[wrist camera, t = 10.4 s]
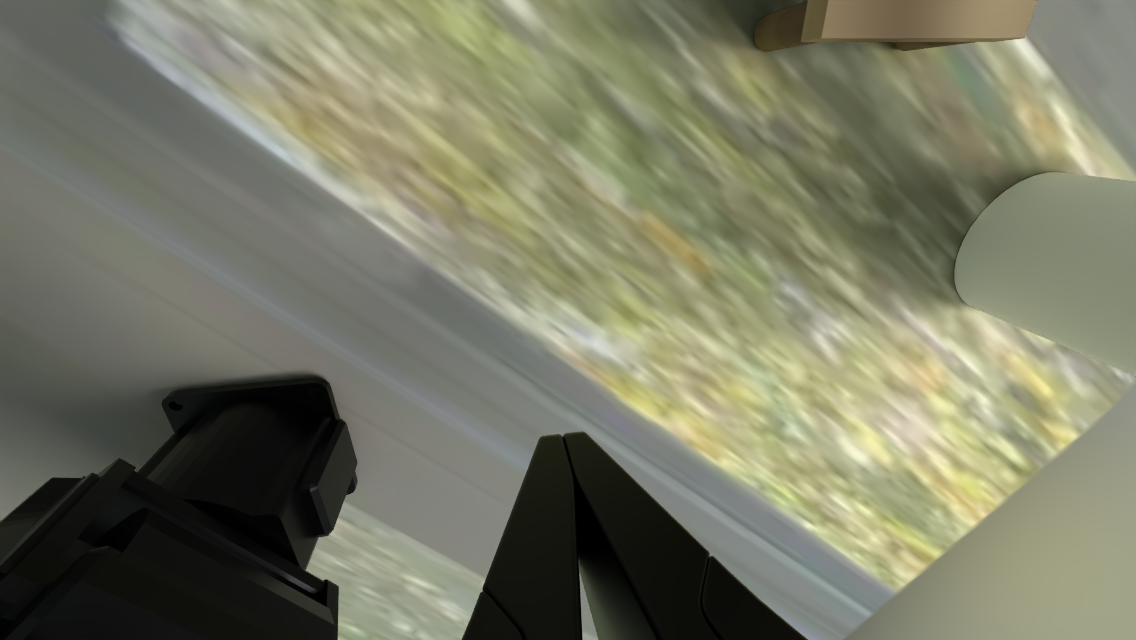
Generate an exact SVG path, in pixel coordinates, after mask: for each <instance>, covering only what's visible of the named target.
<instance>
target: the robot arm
mask: <svg viewBox="0 0 1136 640" xmlns="http://www.w3.org/2000/svg"><path fill="white" fill-rule="evenodd" d="M313 388H318V389H320V390H321V391H322V392H316V391H314V390H313ZM175 401H178V402H180V403H181V404H182V405H179V404H177V403H176V402H175ZM162 407H163V409H164V411H165V413H166V415H167V417H168V420H169V422H170V424H171V426H172V428H173V430H174V432H175V433H174V434H173V435H172V436H171V437H170V438H169V440H168V441H167V442H166V443H165V444H164V445H163V446H162V447H161V448H160V449H159V450H158V451H157V452H156V453H155V454H154V455H153V456H152V457H151V458H150V459H149V461H148V462H147V463H146V464H145V465H144V466H143V467H142V468H141V469H140V470H139V471H138V472H135V471H134V470H135V468H136V467H134V466H132V465H131V464H129V463H127V462H126V461H124V460H122V459H120V458H118V459H117V460H116V461H114V462H113V463H112V464H111V465H109V466H108V467H107V468H105V469H104V470H103V471H101V472H100V473H99V474H98V475H97V474H95V473H91V474H90V475H88V476H87V477H85V476H83V477H82V478H51V479H50V480H49V481H47V482H46V483H45V484H44V485H42V486H41V487H40V488H39V489H37V490H36V491H35V492H34V493H33V494H32V495H30V496H29V497H28V498H27V499H26V500H25V501H23V502H22V503H21V504H20V505H19V506H18V507H16V508H15V509H14V510H13V511H12V512H11V513H9V514H8V515H7V516H6V517H5V518H4V519H2V520H1V521H0V640H337V639H338V595H339V587H338V586H337V585H336V584H334V583H332V582H331V581H329V580H327V579H326V580H324V581H323V580H321V579H319V578H318V577H316V576H314V575H312V574H311V573H309V572H307V571H306V568H307V566H308V563H309V561H310V558H311V556H312V553H313V551H314V548H315V545H316V543H317V540H318V538H319V537H324V536H328V535H329V534H330V533H331V532H332V530H333V529H334V526H335V524H336V521H337V518H338V515H339V513H340V510H341V507H342V504H343V502H344V499H345V496H346V495H348V494H351V493H353V492H354V490H355V488H356V486H357V477H356V473H355V469H356V466H357V459H356V456H355V452H354V449H353V445H352V441H351V438H350V434H349V431H348V427H347V424H346V422H345V421H343V420H342V419H340V417H339V414H338V410H337V407H336V403H335V400H334V396H333V393H332V389H331V386H330V384H329V383H328V382H327V381H326V380H324V379H322V378H309V379H298V380H287V381H276V382H265V383H254V384H243V385H232V386H221V387H211V388H200V389H189V390H178V391H173V392H171V393H170V394H169V395H168V396H167V397H166V398H165V399H163V401H162ZM579 570H580V574H581V577H582V581H583V585H584V588H585V592H586V596H587V599H588V603H589V607H590V610H591V614H592V617H593V621H594V625H595V628H596V632H597V636H598V639H599V640H808V639H807V638H805V637H804V636H803V635H802V634H800V633H799V632H798V631H797V630H795V629H794V628H793V627H792V626H791V625H790V624H788V623H787V622H786V621H785V620H784V619H782V618H781V617H780V616H779V615H778V614H776V613H775V612H774V611H773V610H772V609H770V608H769V607H768V606H767V605H766V604H765V603H763V602H762V601H761V600H760V599H759V598H758V597H757V596H755V595H754V594H753V593H752V592H751V591H750V590H749V589H748V588H747V587H746V586H745V585H743V584H742V583H741V582H740V581H739V580H738V579H737V578H736V577H735V576H734V575H733V574H732V573H730V572H729V571H728V570H727V569H726V568H725V567H724V566H723V565H722V564H721V563H720V562H719V561H718V560H717V559H716V558H715V557H714V556H710V553H709V551H708V550H706V549H705V548H704V547H703V546H702V545H701V544H700V543H699V542H698V541H697V540H696V539H695V538H694V537H693V536H692V535H691V534H690V533H689V532H688V531H687V530H686V529H685V528H684V527H683V526H682V525H681V524H680V523H679V522H678V521H677V520H675V519H674V518H673V517H672V516H671V515H670V514H669V513H668V512H667V511H666V510H665V509H664V508H663V507H662V506H661V505H660V504H659V503H658V502H657V501H656V500H655V499H654V498H653V497H652V496H651V495H650V494H649V493H648V492H647V491H646V490H644V489H643V488H642V487H641V486H640V485H639V484H638V483H637V482H636V481H635V480H634V479H633V478H632V477H631V476H630V475H629V474H628V473H627V472H626V471H625V470H624V469H623V468H622V467H621V466H620V465H619V464H618V463H617V462H616V461H615V460H613V459H612V458H611V457H610V456H609V455H608V454H607V453H606V452H605V451H604V450H603V449H602V448H601V447H600V446H599V445H598V444H597V443H596V442H595V441H594V440H593V439H592V438H591V437H590V436H589V435H588V434H587V433H585V432H573V433H566V434H564V435H563V437H562V436H561V435H560V434H555V435H546V436H542V437H540V439H539V441H538V443H537V446H536V449H535V451H534V454H533V456H532V459H531V462H530V464H529V467H528V470H527V472H526V475H525V477H524V480H523V483H522V485H521V488H520V491H519V493H518V496H517V499H516V501H515V504H514V506H513V509H512V512H511V514H510V517H509V520H508V522H507V525H506V527H505V530H504V533H503V535H502V538H501V541H500V543H499V546H498V549H497V551H496V554H495V556H494V559H493V562H492V564H491V567H490V570H489V572H488V575H487V577H486V580H485V583H484V585H483V592H481V593H480V595H479V598H478V600H477V603H476V606H475V608H474V611H473V614H472V616H471V619H470V621H469V623H468V626H467V628H466V631H465V633H464V635H463V638H462V640H582V621H581V600H580V579H579Z"/></svg>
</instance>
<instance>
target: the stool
mask: <svg viewBox="0 0 1136 640" xmlns="http://www.w3.org/2000/svg"><path fill="white" fill-rule="evenodd" d="M1037 1H1038V0H808V2H804V3H801V4H798V5H795V6H792V7H788V8H785V9H782V10H779V11H776V12H773V13H769V14H767V15H765V16H763V17H762V18H761V19H760V20H759V22H758V23H757V25H756V27H755V31H754V40H755V43H756V45H757V47H758V48H759V49H760V50H762V51H773V50H778V49H784V48H789V47H795V46H800V45H806V44H811V43H817V42H895V44H896V46H897V48H898V49H900V50H902V51H908V50H916V49H924V48H932V47H940V46H948V45H957V44H965V43H973V42H996V41H1004V40H1013V39H1021V38H1025V35H1026V32H1027V29H1028V26H1029V23H1030V21H1031V18H1032V15H1033V12H1034V9H1035V7H1036V4H1037Z"/></svg>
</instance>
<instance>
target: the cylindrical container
mask: <svg viewBox="0 0 1136 640" xmlns="http://www.w3.org/2000/svg"><path fill="white" fill-rule="evenodd" d="M954 281H955V285H956V289H957V292H958V294H959V296H960V297H961V299H962V300H963V301H964V302H965V303H966V304H967V305H969V306H971V307H973V308H975V309H977V310H980V311H982V312H984V313H987V314H989V315H991V316H994V317H996V318H998V319H1001V320H1003V321H1006V322H1008V323H1010V324H1013V325H1015V326H1017V327H1020V328H1022V329H1025V330H1027V331H1029V332H1032V333H1034V334H1036V335H1039V336H1041V337H1044V338H1046V339H1048V340H1051V341H1053V342H1055V343H1058V344H1060V345H1062V346H1065V347H1067V348H1070V349H1072V350H1074V351H1077V352H1079V353H1081V354H1084V355H1086V356H1089V357H1091V358H1093V359H1096V360H1098V361H1100V362H1103V363H1105V364H1107V365H1110V366H1112V367H1115V368H1117V369H1119V370H1122V371H1124V372H1126V373H1129V374H1131V375H1133V376H1136V181H1128V180H1120V179H1111V178H1103V177H1095V176H1087V175H1079V174H1071V173H1063V172H1047V173H1043V174H1039V175H1034V176H1032V177H1029V178H1027V179H1025V180H1023V181H1020V182H1018V183H1017V184H1015V185H1014V186H1012V187H1010V188H1009V189H1007V190H1006V191H1004V192H1003V193H1002V194H1001V195H999V196H998V197H997V198H996V199H995V200H993V201H992V202H991V203H990V204H989V205H988V206H987V207H986V209H985V210H984V211H983V212H982V213H981V214H980V215H979V217H978V218H977V219H976V221H975V222H974V223H973V225H972V226H971V227H970V229H969V231H968V233H967V234H966V236H965V238H964V240H963V242H962V244H961V247H960V249H959V252H958V255H957V259H956V264H955V269H954Z"/></svg>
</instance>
